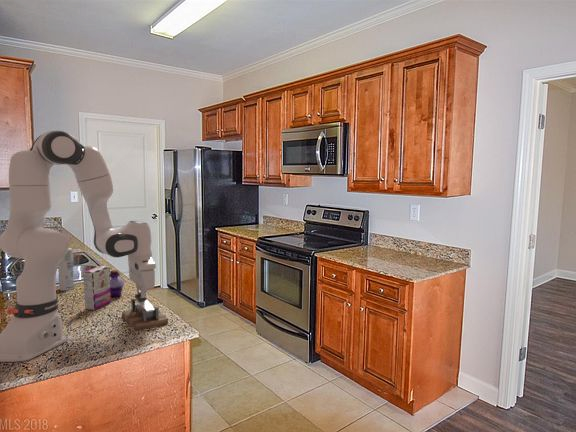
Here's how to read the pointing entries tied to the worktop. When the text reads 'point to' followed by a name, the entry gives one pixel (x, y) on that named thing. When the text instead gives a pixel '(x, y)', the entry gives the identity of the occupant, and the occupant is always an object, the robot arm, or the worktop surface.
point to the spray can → (66, 271)
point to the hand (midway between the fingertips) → (141, 295)
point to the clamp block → (144, 312)
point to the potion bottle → (116, 284)
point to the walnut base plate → (137, 320)
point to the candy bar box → (97, 287)
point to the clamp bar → (144, 303)
